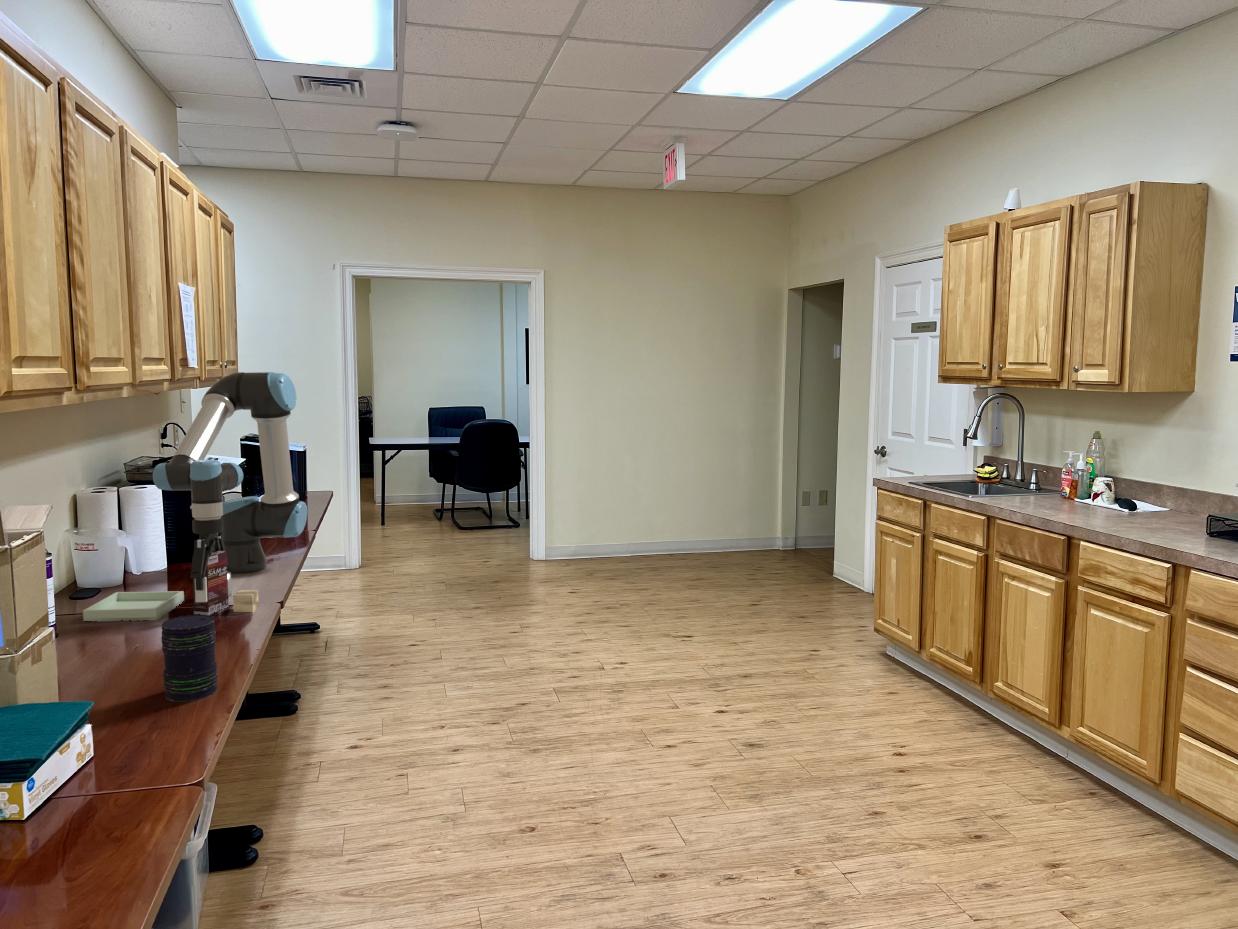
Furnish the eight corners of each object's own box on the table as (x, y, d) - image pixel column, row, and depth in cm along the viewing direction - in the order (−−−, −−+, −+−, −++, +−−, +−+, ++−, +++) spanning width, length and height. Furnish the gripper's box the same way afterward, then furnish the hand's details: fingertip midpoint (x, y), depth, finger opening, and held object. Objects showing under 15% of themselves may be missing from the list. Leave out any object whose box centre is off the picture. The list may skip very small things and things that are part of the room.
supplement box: (209, 616, 227) (206, 557, 225) (193, 614, 228) (190, 556, 226) (230, 607, 235) (227, 550, 233) (214, 606, 236) (212, 549, 234)
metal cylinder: (216, 595, 247) (215, 571, 246) (234, 594, 248) (233, 571, 247) (210, 599, 242) (209, 575, 241) (228, 599, 243) (227, 575, 242)
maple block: (239, 608, 235) (239, 590, 234) (258, 607, 235) (258, 590, 235) (233, 613, 230) (232, 595, 229) (252, 613, 230) (252, 595, 230)
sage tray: (116, 602, 238) (116, 592, 238) (184, 601, 240) (183, 591, 240) (83, 621, 220) (82, 610, 220) (156, 620, 222) (156, 609, 222)
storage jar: (168, 706, 167) (164, 632, 165) (160, 690, 175) (156, 619, 173) (223, 694, 173) (220, 623, 171) (213, 680, 181) (210, 611, 179)
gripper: (210, 510, 240) (213, 583, 243) (174, 526, 216) (177, 607, 218) (237, 510, 241) (240, 583, 243) (205, 526, 217) (208, 607, 219)
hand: (211, 595), depth 231 cm, fingers open, 13 cm apart
